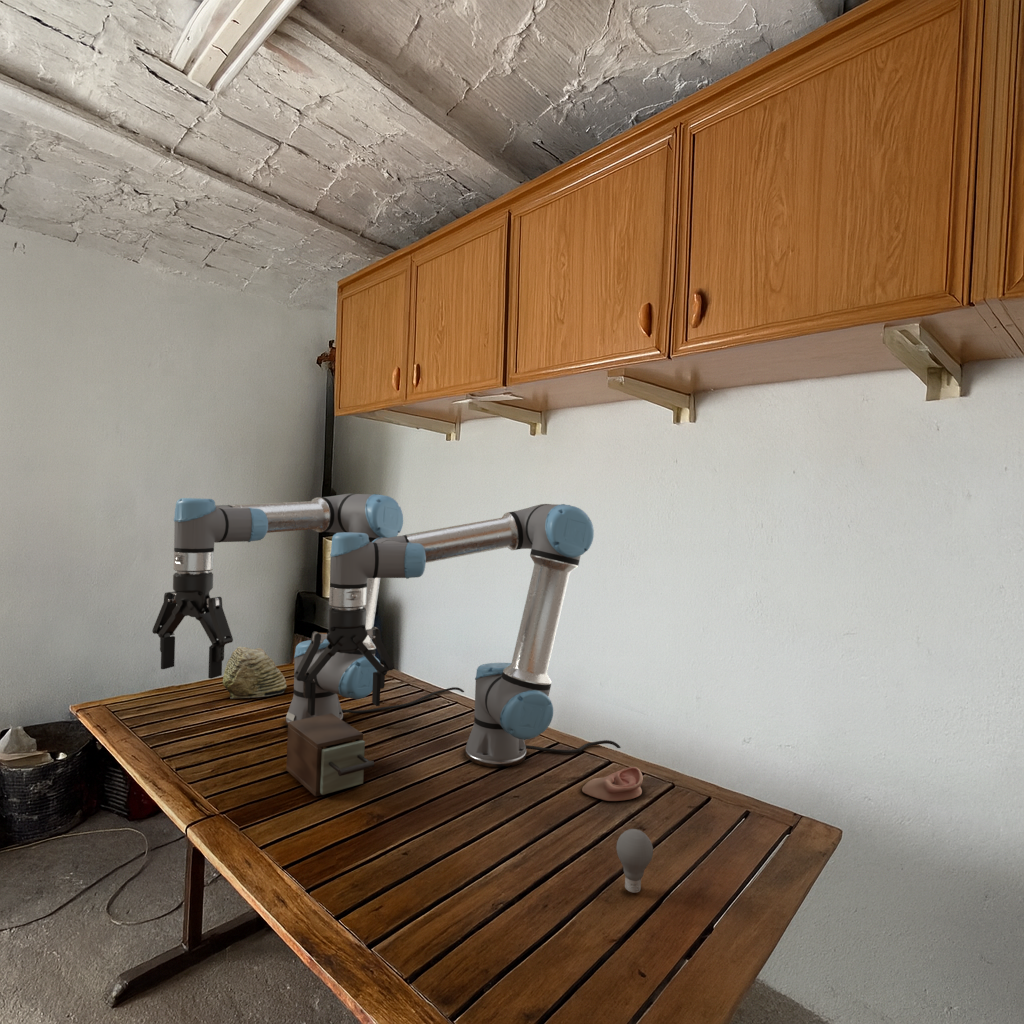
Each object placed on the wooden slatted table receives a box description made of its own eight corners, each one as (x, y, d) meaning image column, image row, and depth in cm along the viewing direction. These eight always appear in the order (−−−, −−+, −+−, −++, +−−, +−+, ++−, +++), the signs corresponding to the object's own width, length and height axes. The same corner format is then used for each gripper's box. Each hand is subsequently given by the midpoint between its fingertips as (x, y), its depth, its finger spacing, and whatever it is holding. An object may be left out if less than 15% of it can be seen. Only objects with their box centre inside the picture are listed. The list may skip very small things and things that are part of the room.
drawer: (377, 793, 134) (378, 750, 134) (335, 806, 128) (337, 761, 128) (333, 760, 150) (335, 721, 150) (294, 770, 144) (296, 729, 143)
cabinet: (361, 783, 141) (363, 733, 140) (315, 796, 134) (317, 744, 133) (329, 759, 153) (331, 713, 152) (286, 770, 146) (288, 721, 146)
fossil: (218, 695, 195) (220, 647, 195) (278, 685, 208) (279, 640, 207) (228, 703, 189) (230, 653, 188) (289, 692, 201) (290, 645, 201)
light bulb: (610, 879, 108) (613, 822, 108) (644, 879, 109) (647, 822, 109) (619, 902, 102) (622, 840, 102) (655, 901, 103) (658, 840, 103)
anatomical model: (581, 779, 138) (585, 758, 149) (580, 797, 138) (585, 775, 149) (643, 787, 135) (643, 766, 147) (642, 806, 136) (642, 783, 147)
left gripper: (135, 568, 134) (132, 668, 134) (224, 578, 125) (221, 685, 125) (166, 565, 141) (164, 660, 141) (252, 574, 132) (250, 676, 132)
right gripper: (289, 613, 122) (286, 723, 122) (410, 606, 135) (407, 705, 135) (281, 607, 128) (277, 711, 128) (397, 601, 141) (394, 695, 141)
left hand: (190, 672), depth 133 cm, fingers open, 13 cm apart
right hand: (344, 708), depth 132 cm, fingers open, 13 cm apart
